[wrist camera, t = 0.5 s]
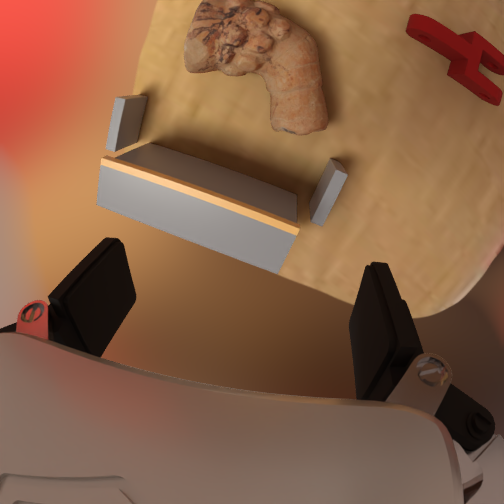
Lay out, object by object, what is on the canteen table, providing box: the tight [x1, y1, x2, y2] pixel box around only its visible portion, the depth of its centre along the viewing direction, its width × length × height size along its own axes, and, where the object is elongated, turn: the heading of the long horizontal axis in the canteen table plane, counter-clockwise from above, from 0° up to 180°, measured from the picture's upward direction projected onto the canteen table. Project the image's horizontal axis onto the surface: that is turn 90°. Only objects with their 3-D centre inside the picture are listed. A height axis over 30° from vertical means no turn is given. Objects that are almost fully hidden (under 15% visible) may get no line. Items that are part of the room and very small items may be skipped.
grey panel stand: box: [97, 95, 348, 274], centre depth 32 cm, size 12×29×12 cm, turn 70°
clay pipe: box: [184, 0, 328, 135], centre depth 27 cm, size 19×11×15 cm
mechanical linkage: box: [406, 14, 504, 106], centre depth 22 cm, size 16×7×5 cm, turn 74°
